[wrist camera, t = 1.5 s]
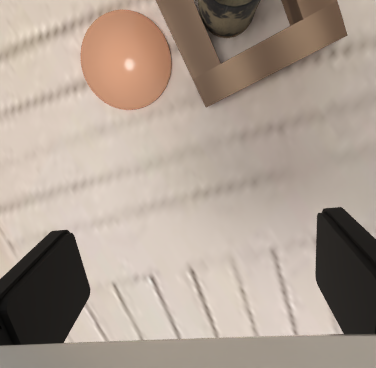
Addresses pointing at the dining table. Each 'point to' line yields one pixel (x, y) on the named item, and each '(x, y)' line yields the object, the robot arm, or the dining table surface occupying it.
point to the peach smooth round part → (125, 59)
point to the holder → (255, 56)
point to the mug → (227, 15)
